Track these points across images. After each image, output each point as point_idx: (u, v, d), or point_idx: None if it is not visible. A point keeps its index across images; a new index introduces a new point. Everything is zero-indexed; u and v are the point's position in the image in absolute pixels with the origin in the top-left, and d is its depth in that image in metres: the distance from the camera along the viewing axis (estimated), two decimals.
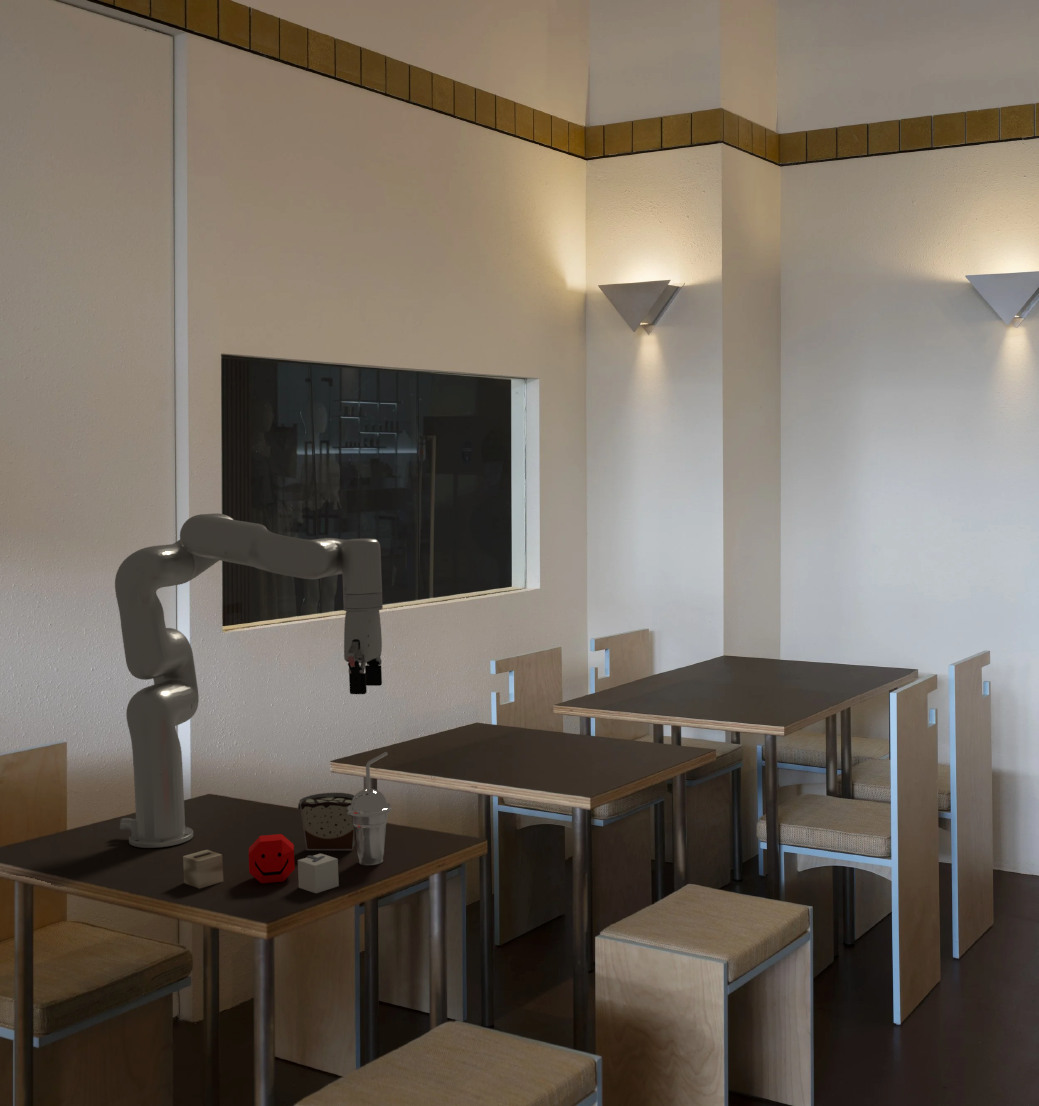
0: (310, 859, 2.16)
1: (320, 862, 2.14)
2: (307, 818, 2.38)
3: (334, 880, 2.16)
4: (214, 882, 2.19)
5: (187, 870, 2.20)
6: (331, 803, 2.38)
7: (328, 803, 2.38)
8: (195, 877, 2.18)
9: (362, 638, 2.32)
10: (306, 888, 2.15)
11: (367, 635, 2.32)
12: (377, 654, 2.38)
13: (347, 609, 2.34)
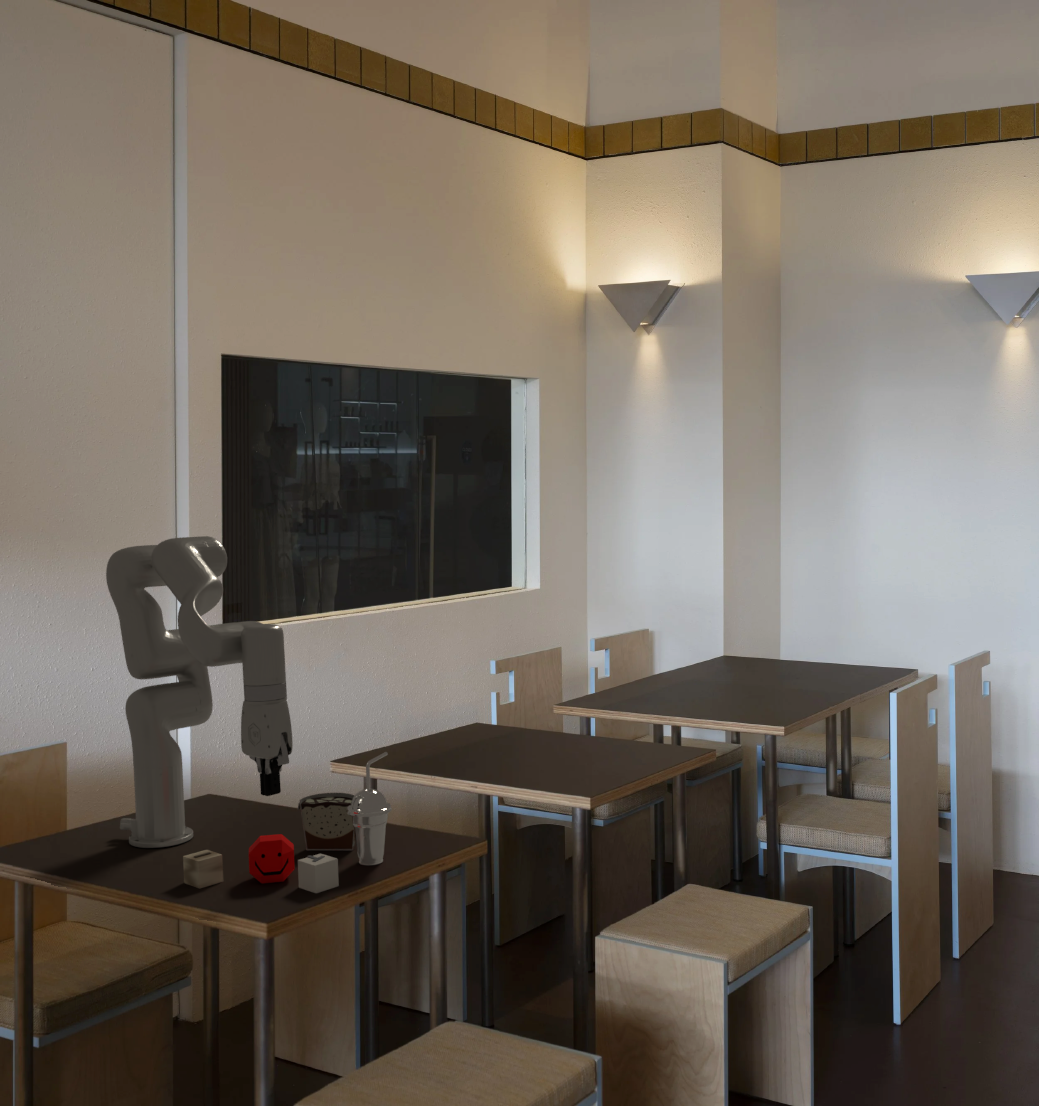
0: (310, 859, 2.16)
1: (320, 862, 2.14)
2: (307, 818, 2.38)
3: (334, 880, 2.16)
4: (214, 882, 2.19)
5: (187, 870, 2.20)
6: (331, 803, 2.38)
7: (328, 803, 2.38)
8: (195, 877, 2.18)
9: (289, 730, 2.17)
10: (306, 888, 2.15)
11: None
12: None
13: (265, 702, 2.16)
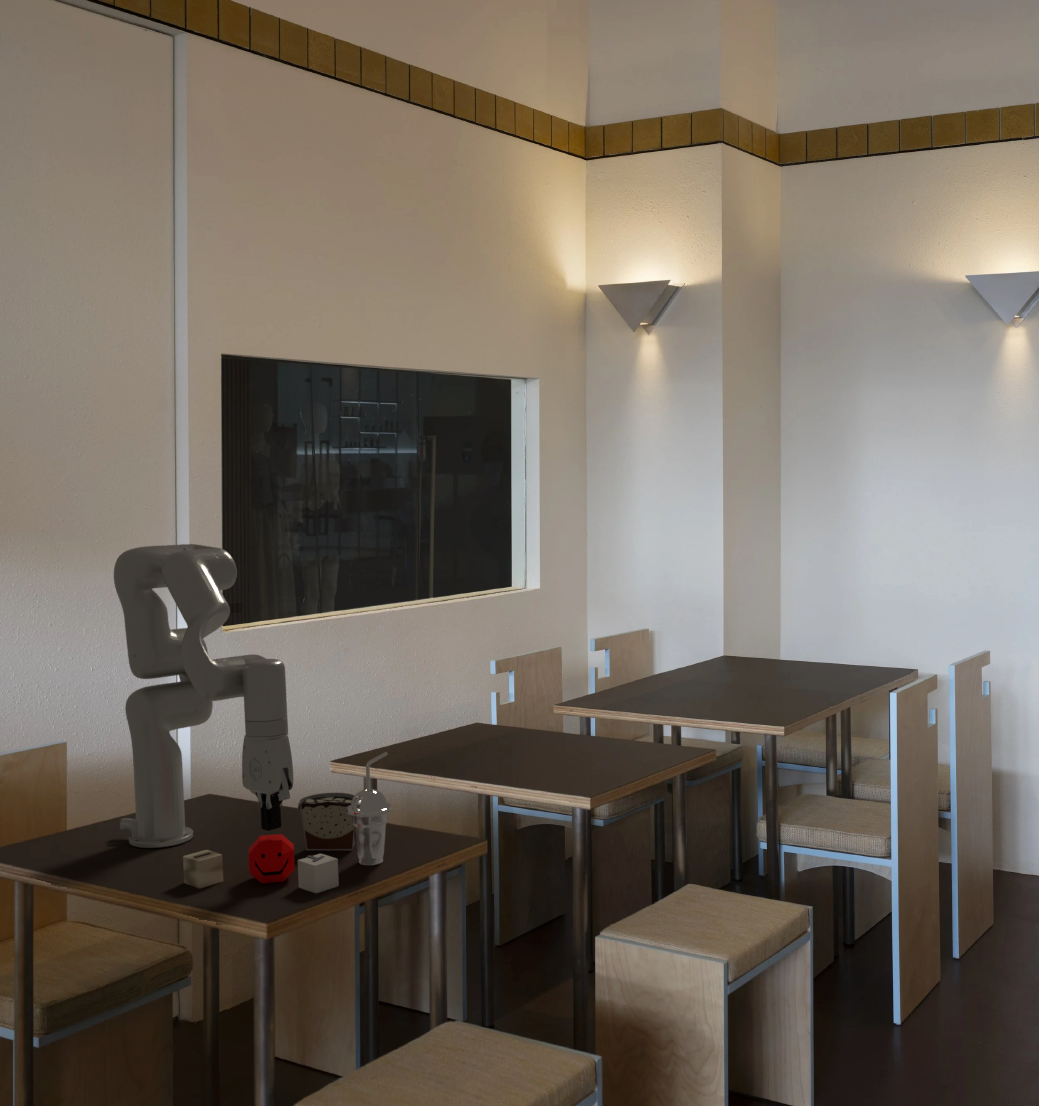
0: (310, 859, 2.16)
1: (320, 862, 2.14)
2: (307, 818, 2.38)
3: (334, 880, 2.16)
4: (214, 882, 2.19)
5: (187, 870, 2.20)
6: (331, 803, 2.38)
7: (328, 803, 2.38)
8: (195, 877, 2.18)
9: (290, 765, 2.17)
10: (306, 888, 2.15)
11: None
12: None
13: (266, 737, 2.16)
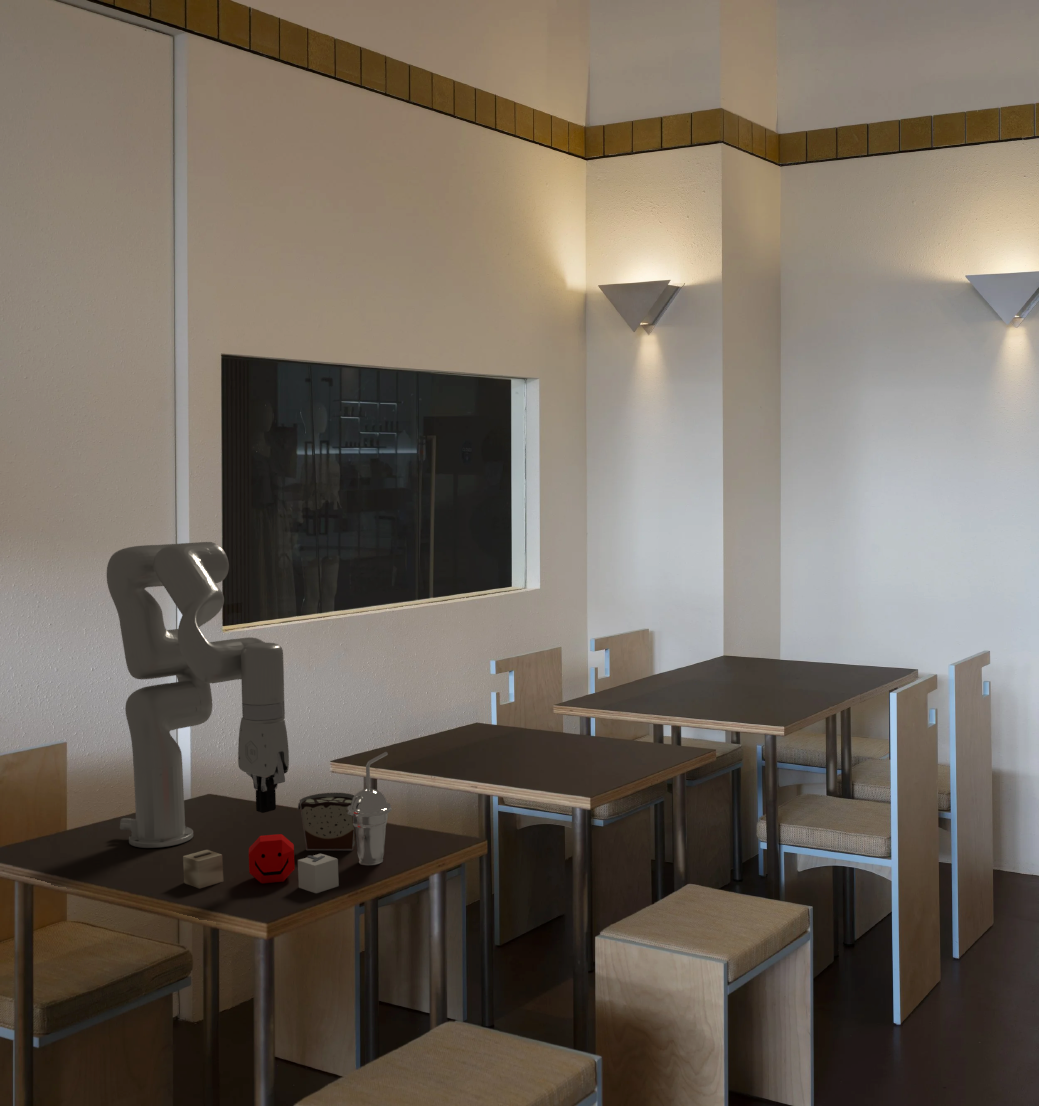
0: (310, 859, 2.16)
1: (320, 862, 2.14)
2: (307, 818, 2.38)
3: (334, 880, 2.16)
4: (214, 882, 2.19)
5: (187, 870, 2.20)
6: (331, 803, 2.38)
7: (328, 803, 2.38)
8: (195, 877, 2.18)
9: (286, 749, 2.19)
10: (306, 888, 2.15)
11: None
12: None
13: (263, 721, 2.17)
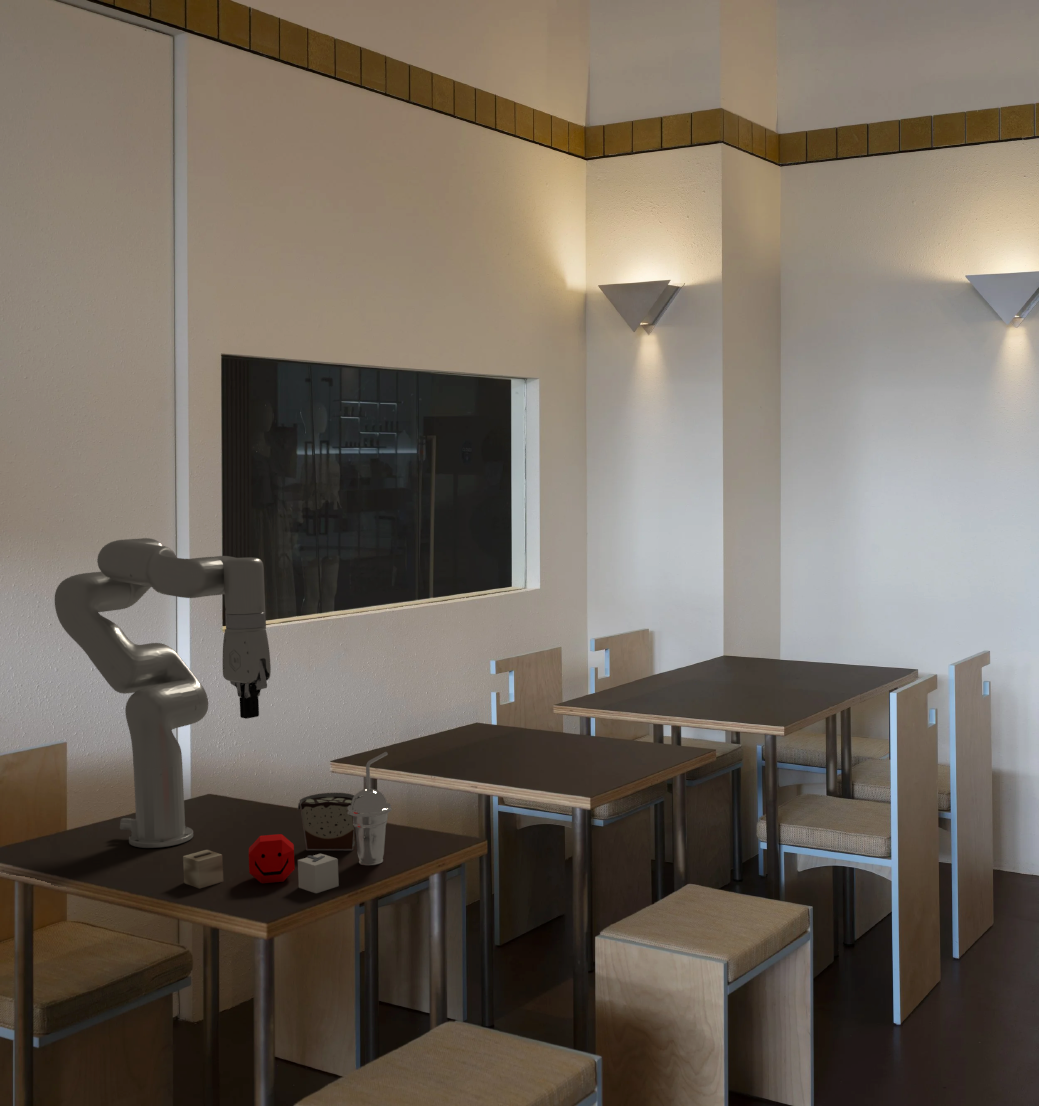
0: (310, 859, 2.16)
1: (320, 862, 2.14)
2: (307, 818, 2.38)
3: (334, 880, 2.16)
4: (214, 882, 2.19)
5: (187, 870, 2.20)
6: (331, 803, 2.38)
7: (328, 803, 2.38)
8: (195, 877, 2.18)
9: (267, 657, 2.31)
10: (306, 888, 2.15)
11: None
12: None
13: (245, 630, 2.30)
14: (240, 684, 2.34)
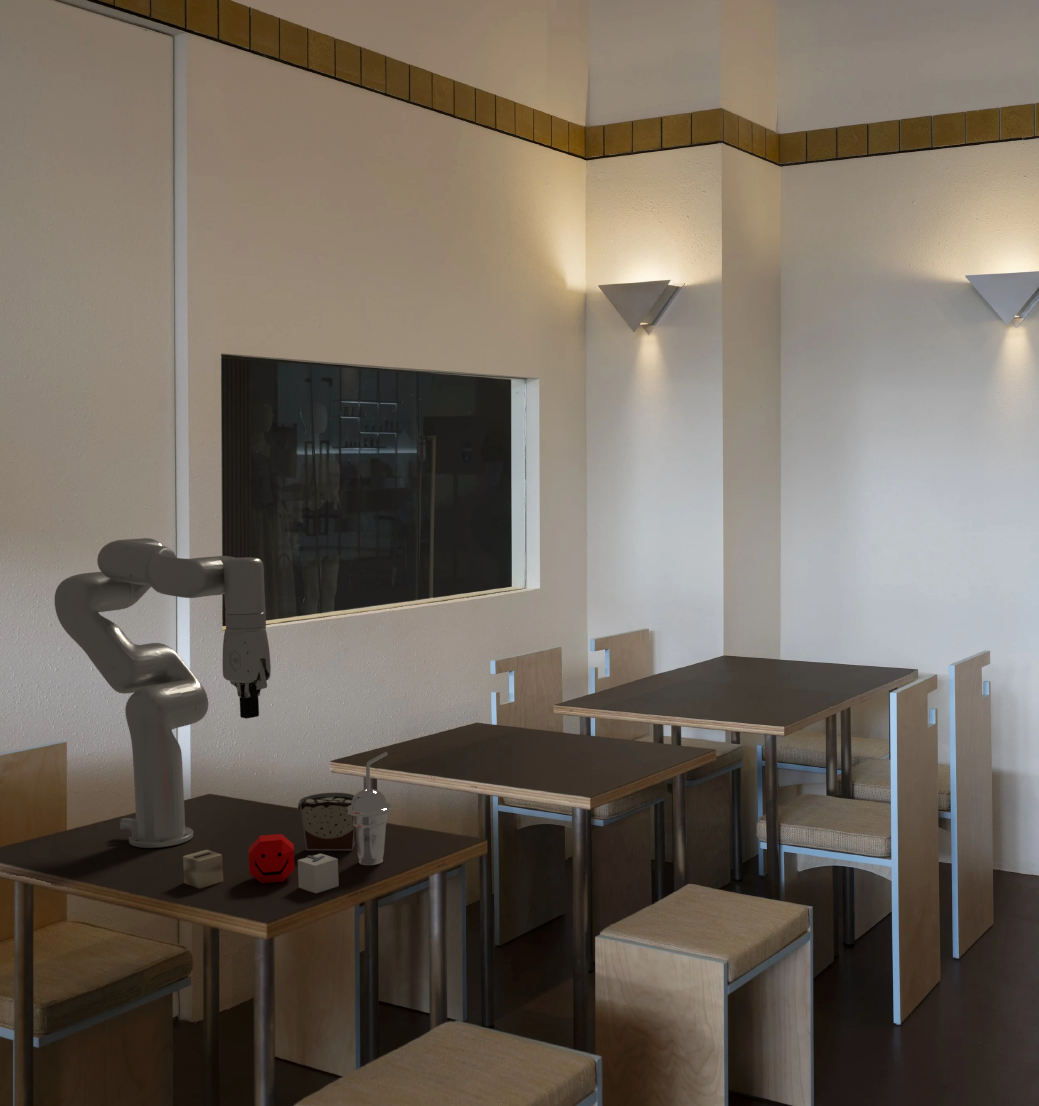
0: (310, 859, 2.16)
1: (320, 862, 2.14)
2: (307, 818, 2.38)
3: (334, 880, 2.16)
4: (214, 882, 2.19)
5: (187, 870, 2.20)
6: (331, 803, 2.38)
7: (328, 803, 2.38)
8: (195, 877, 2.18)
9: (267, 657, 2.31)
10: (306, 888, 2.15)
11: None
12: None
13: (245, 629, 2.30)
14: (240, 684, 2.34)
